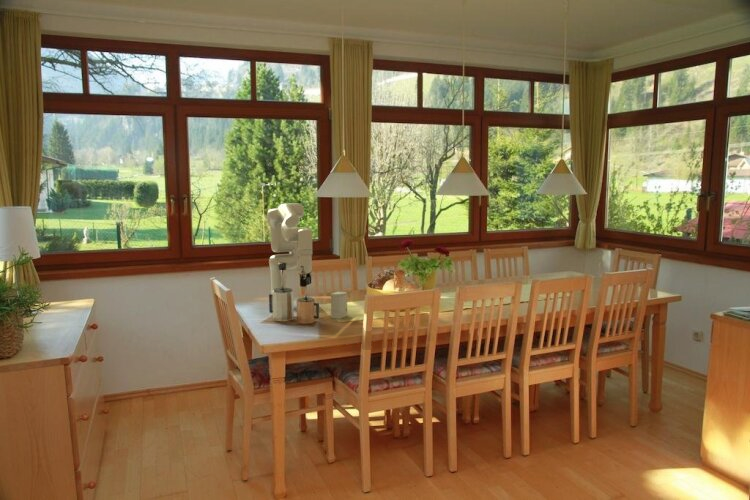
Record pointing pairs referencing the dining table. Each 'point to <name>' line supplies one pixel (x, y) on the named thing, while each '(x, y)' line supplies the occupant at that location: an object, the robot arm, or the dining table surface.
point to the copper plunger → (306, 286)
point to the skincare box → (338, 305)
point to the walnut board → (291, 322)
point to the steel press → (282, 304)
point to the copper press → (307, 310)
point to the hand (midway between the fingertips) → (305, 284)
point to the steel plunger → (282, 267)
